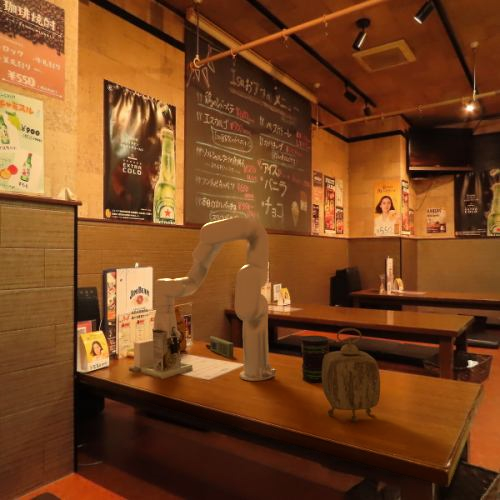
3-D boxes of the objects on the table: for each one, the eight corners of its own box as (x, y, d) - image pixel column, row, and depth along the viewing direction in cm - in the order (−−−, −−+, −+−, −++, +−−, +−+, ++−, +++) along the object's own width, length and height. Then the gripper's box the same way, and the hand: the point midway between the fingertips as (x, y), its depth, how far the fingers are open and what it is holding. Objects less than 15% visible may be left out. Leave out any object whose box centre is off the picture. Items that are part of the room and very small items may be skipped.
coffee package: (190, 350, 201) (188, 305, 201) (172, 356, 190) (170, 308, 190) (174, 348, 206) (173, 304, 206) (156, 353, 195) (155, 307, 196)
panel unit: (176, 361, 181) (175, 336, 181) (137, 371, 166) (136, 344, 166) (168, 359, 185) (167, 334, 185) (128, 369, 170) (128, 342, 170)
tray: (192, 369, 167) (192, 364, 167) (162, 378, 155) (161, 373, 155) (171, 364, 176) (171, 359, 176) (141, 372, 165) (140, 367, 165)
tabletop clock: (372, 411, 118) (369, 324, 118) (384, 424, 109) (380, 330, 109) (322, 413, 118) (320, 326, 118) (330, 426, 109) (326, 332, 109)
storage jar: (298, 381, 147) (297, 339, 147) (307, 374, 156) (306, 334, 156) (325, 385, 142) (323, 342, 143) (333, 377, 151) (332, 336, 151)
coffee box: (171, 365, 171) (170, 326, 171) (181, 367, 167) (180, 328, 167) (153, 370, 164) (152, 330, 164) (163, 373, 160) (161, 331, 160)
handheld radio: (228, 358, 183) (203, 348, 204) (234, 357, 185) (209, 347, 206) (228, 343, 183) (203, 335, 205) (234, 343, 185) (209, 334, 206)
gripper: (145, 309, 169) (146, 350, 169) (171, 312, 157) (172, 356, 157) (160, 307, 174) (161, 347, 174) (186, 309, 163) (187, 352, 163)
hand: (166, 351), depth 166 cm, fingers open, 9 cm apart
